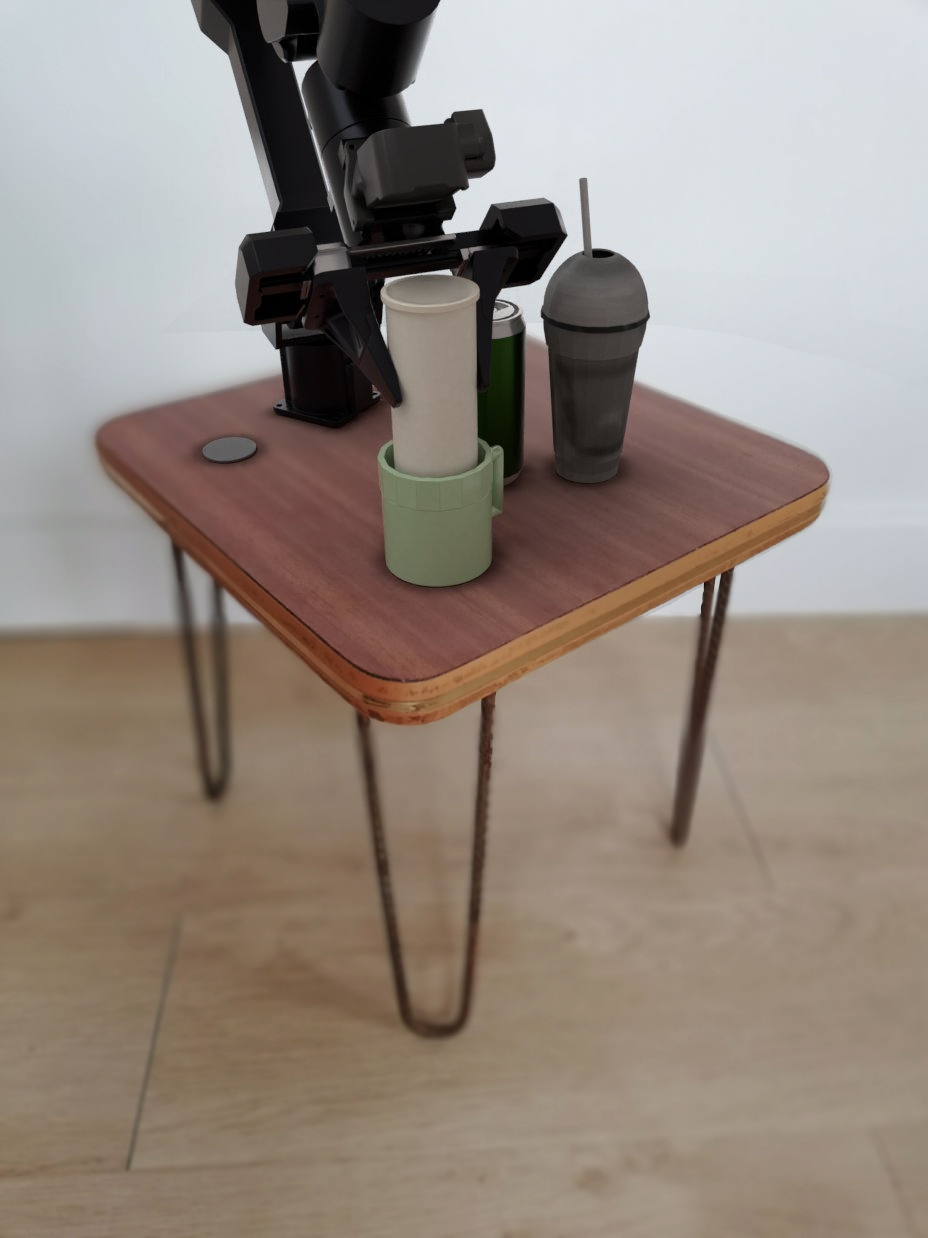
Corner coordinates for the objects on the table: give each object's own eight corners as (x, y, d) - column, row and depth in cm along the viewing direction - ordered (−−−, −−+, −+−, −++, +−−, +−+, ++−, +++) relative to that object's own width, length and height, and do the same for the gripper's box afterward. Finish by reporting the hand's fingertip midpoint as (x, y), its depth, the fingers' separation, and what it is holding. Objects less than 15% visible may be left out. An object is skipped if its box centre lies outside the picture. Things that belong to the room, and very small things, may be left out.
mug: (428, 600, 65) (424, 492, 61) (364, 554, 70) (356, 451, 65) (536, 550, 70) (538, 447, 65) (468, 511, 74) (467, 411, 70)
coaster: (191, 455, 82) (191, 453, 81) (226, 435, 84) (226, 432, 84) (233, 467, 80) (232, 464, 80) (267, 446, 83) (266, 443, 83)
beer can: (496, 497, 75) (496, 329, 69) (434, 477, 78) (428, 313, 71) (537, 467, 79) (542, 305, 72) (477, 449, 82) (475, 290, 75)
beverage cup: (633, 496, 75) (658, 195, 64) (529, 487, 77) (535, 191, 65) (640, 450, 81) (664, 166, 70) (543, 442, 82) (551, 163, 71)
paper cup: (374, 479, 65) (361, 296, 58) (422, 443, 69) (414, 268, 62) (452, 500, 62) (447, 312, 56) (497, 462, 66) (497, 282, 60)
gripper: (214, 67, 53) (295, 362, 51) (559, 41, 59) (644, 306, 57) (208, 198, 64) (275, 446, 62) (500, 165, 69) (571, 392, 67)
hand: (441, 397), depth 61 cm, fingers closed on paper cup, 5 cm apart
